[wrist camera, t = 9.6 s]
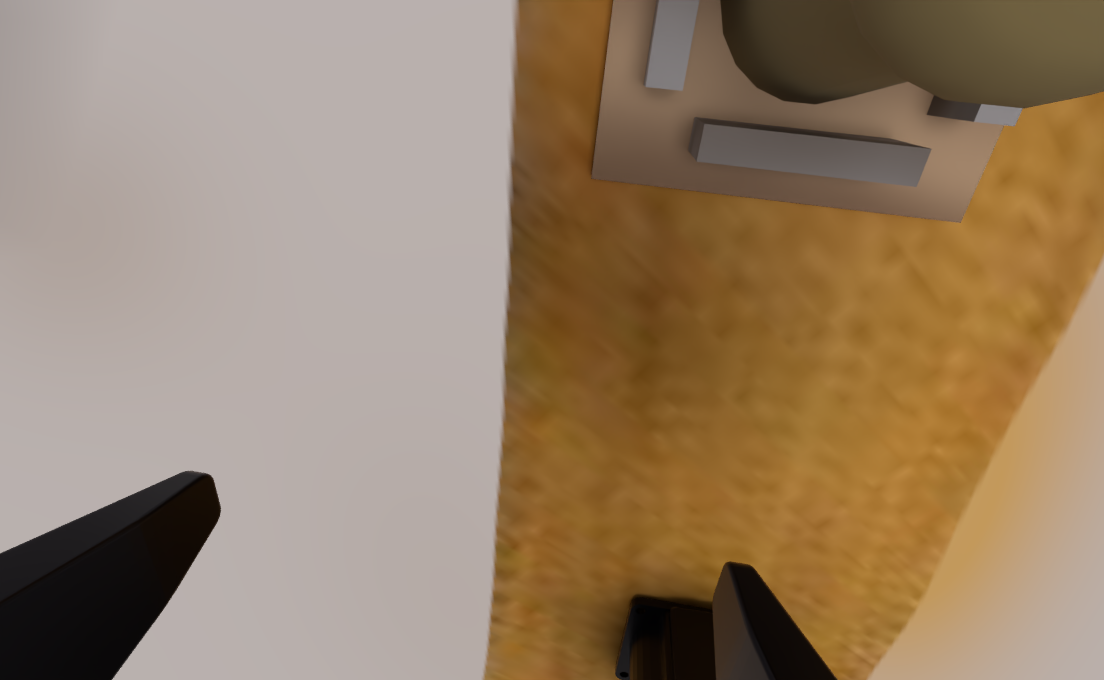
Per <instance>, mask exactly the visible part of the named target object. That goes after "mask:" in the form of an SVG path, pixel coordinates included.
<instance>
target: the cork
mask: <svg viewBox="0 0 1104 680" xmlns="http://www.w3.org/2000/svg"><path fill="white" fill-rule="evenodd" d="M720 3H721V15H722V28H723V35H724V38H725V40H726V42H727V45H728V47H729V50H730V52H731V55H732V57H733V59H734V62H735V64H736V66H737V67H738V68H739V69H740V70H741V71H742V72H743V73H744V74H745V76H746V77H747V78H748V79H749V80H750V81H751V82H752V83H753V84H754V85H755V86H756V88H758V89H760V90H762V91H764V92H766V93H768V94H770V95H772V96H774V97H776V98H778V99H780V100H782V101H786V102H796V103H806V104H820V103H825V102H829V101H834V100H838V99H843V98H847V97H852V96H855V95H859V94H863V93H867V92H871V91H874V90H878V89H882V88H886V87H890V86H893V85H897V84H901V83H905V82H910V83H912V84H914V85H916V86H918V87H920V88H922V89H924V90H925V91H927V92H929V93H931V94H933V95H935V96H937V97H939V98H941V99H943V100H949V101H957V102H965V103H975V104H985V105H995V106H1005V107H1015V108H1028V107H1033V106H1038V105H1043V104H1048V103H1053V102H1058V101H1063V100H1068V99H1072V98H1077V97H1082V96H1087V95H1092V94H1095V93H1099V92H1103V91H1104V0H720Z"/></svg>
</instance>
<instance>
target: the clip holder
mask: <svg viewBox="0 0 1104 680" xmlns="http://www.w3.org/2000/svg"><path fill="white" fill-rule="evenodd" d="M1022 109H1023V108H1015V107H1005V106H995V105H985V104H975V103H965V102H957V101H949V100H943V99H941V98H939V97H937V96H935V95H933V94H931V93H929V92H927V91H925V90H924V89H922V88H920V87H918V86H916V85H914V84H912V83H910V82H905V83H901V84H897V85H893V86H890V87H886V88H882V89H878V90H874V91H871V92H867V93H863V94H859V95H855V96H852V97H847V98H843V99H838V100H834V101H829V102H825V103H820V104H806V103H796V102H786V101H782V100H780V99H778V98H776V97H774V96H772V95H770V94H768V93H766V92H764V91H762V90H760V89H758V88H756V86H755V85H754V84H753V83H752V82H751V81H750V80H749V79H748V78H747V77H746V76H745V74H744V73H743V72H742V71H741V70H740V69H739V68H738V67H737V66H736V64H735V62H734V59H733V57H732V55H731V52H730V50H729V47H728V45H727V42H726V40H725V38H724V35H723V28H722V15H721V3H720V0H613V7H612V15H611V24H610V32H609V40H608V48H607V56H606V64H605V72H604V80H603V88H602V96H601V105H600V113H599V121H598V129H597V137H596V145H595V153H594V161H593V169H592V178H591V179H599V180H607V181H616V182H624V183H632V184H641V185H649V186H657V187H666V188H674V189H682V190H691V191H699V192H708V193H716V194H724V195H733V196H741V197H749V198H758V199H766V200H774V201H783V202H791V203H799V204H808V205H816V206H824V207H833V208H841V209H850V210H858V211H866V212H875V213H883V214H891V215H900V216H908V217H916V218H925V219H933V220H941V221H950V222H958V223H961V221H962V218H963V216H964V214H965V212H966V209H967V207H968V205H969V203H970V201H971V198H972V196H973V194H974V192H975V189H976V187H977V185H978V183H979V180H980V178H981V176H982V174H983V171H984V169H985V167H986V165H987V163H988V160H989V158H990V156H991V154H992V151H993V149H994V147H995V145H996V142H997V140H998V138H999V136H1000V134H1001V131H1002V129H1003V127H1004V125H1008V126H1015V124H1016V122H1017V120H1018V118H1019V115H1020V113H1021V111H1022Z"/></svg>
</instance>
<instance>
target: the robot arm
mask: <svg viewBox="0 0 1104 680" xmlns="http://www.w3.org/2000/svg"><path fill="white" fill-rule="evenodd" d="M220 512H221V506H220V502H219V498H218V494H217V491H216V487H215V483H214V480H213V478H212V477H211V475H209V474H206V473H201V472H194V471H185V472H182V473H179V474H177V475H175V476H173V477H171V478H168V479H166V480H164V481H162V482H159V483H157V484H155V485H152V486H150V487H148V488H146V489H144V490H141V491H139V492H137V493H135V494H132V495H130V496H128V497H126V498H123V499H121V500H119V501H117V502H115V503H112V504H110V505H108V506H105V507H103V508H101V509H99V510H97V511H94V512H92V513H90V514H88V515H86V516H83V517H81V518H79V519H76V520H74V521H72V522H70V523H67V524H65V525H63V526H61V527H59V528H56V529H54V530H52V531H50V532H47V533H45V534H43V535H41V536H38V537H36V538H34V539H32V540H30V541H27V542H25V543H23V544H20V545H18V546H16V547H14V548H11V549H9V550H7V551H5V552H2V553H0V680H112V679H113V678H114V676H115V675H116V674H117V672H118V671H119V669H120V668H121V667H122V665H123V664H124V663H125V661H126V660H127V659H128V657H129V656H130V654H131V653H132V651H133V650H134V649H135V648H136V646H137V645H138V644H139V642H140V641H141V640H142V638H143V637H144V635H145V634H146V633H147V631H148V630H149V629H150V627H151V626H152V624H153V623H154V622H155V620H156V619H157V618H158V616H159V615H160V613H161V612H162V611H163V609H164V608H165V606H166V605H167V603H168V602H169V600H170V598H171V597H172V595H173V594H174V593H175V591H176V590H177V588H178V586H179V585H180V583H181V581H182V580H183V578H184V576H185V575H186V573H187V571H188V570H189V568H190V567H191V565H192V563H193V562H194V560H195V558H196V557H197V555H198V553H199V552H200V550H201V548H202V547H203V545H204V543H205V542H206V540H207V538H208V537H209V535H210V534H211V532H212V530H213V529H214V527H215V525H216V524H217V522H218V519H219V517H220ZM615 674H616V677H617V678H619V679H621V680H837V678H836V677H835V676H834V674H833V673H832V672H831V670H830V669H829V668H828V666H827V665H826V664H825V662H824V661H823V660H822V658H821V657H820V656H819V654H818V653H817V652H816V650H815V649H814V648H813V646H812V645H811V644H810V642H809V641H808V640H807V638H806V637H805V636H804V634H803V633H802V632H801V630H800V629H799V628H798V626H797V625H796V623H795V622H794V621H793V619H792V618H791V617H790V615H789V614H788V613H787V611H786V610H785V609H784V607H783V606H782V605H781V603H780V602H779V601H778V599H777V598H776V597H775V595H774V594H773V593H772V591H771V590H770V589H769V587H768V586H767V585H766V583H765V582H764V581H763V579H762V578H761V577H760V575H759V574H758V573H757V571H756V570H755V569H754V568H753V567H752V566H750V565H748V564H742V563H736V562H731V561H730V562H726V563H725V565H724V566H723V569H722V572H721V575H720V578H719V581H718V583H717V586H716V589H715V592H714V596H713V610H710V609H704V608H698V607H692V606H687V605H681V604H675V603H670V602H664V601H658V600H653V599H647V598H635V599H633V600H632V601H631V604H630V608H629V613H628V617H627V621H626V625H625V629H624V633H623V637H622V642H621V646H620V650H619V654H618V658H617V662H616V669H615Z"/></svg>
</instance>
